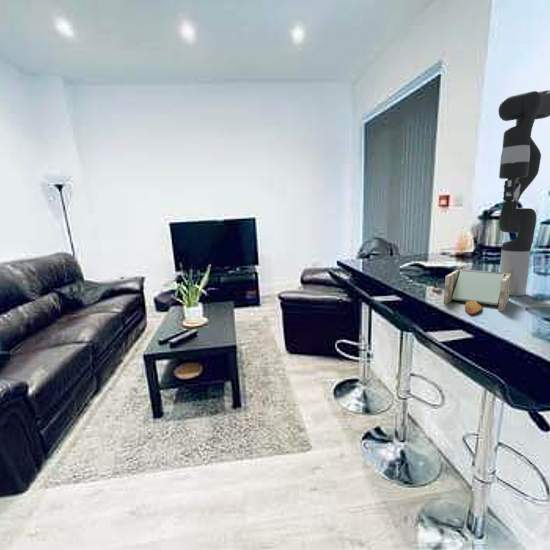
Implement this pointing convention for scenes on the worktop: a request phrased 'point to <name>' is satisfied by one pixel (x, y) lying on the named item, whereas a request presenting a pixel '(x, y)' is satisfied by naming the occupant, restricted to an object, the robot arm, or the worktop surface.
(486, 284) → the trapdoor
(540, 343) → the worktop surface
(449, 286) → the trapdoor frame
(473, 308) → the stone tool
